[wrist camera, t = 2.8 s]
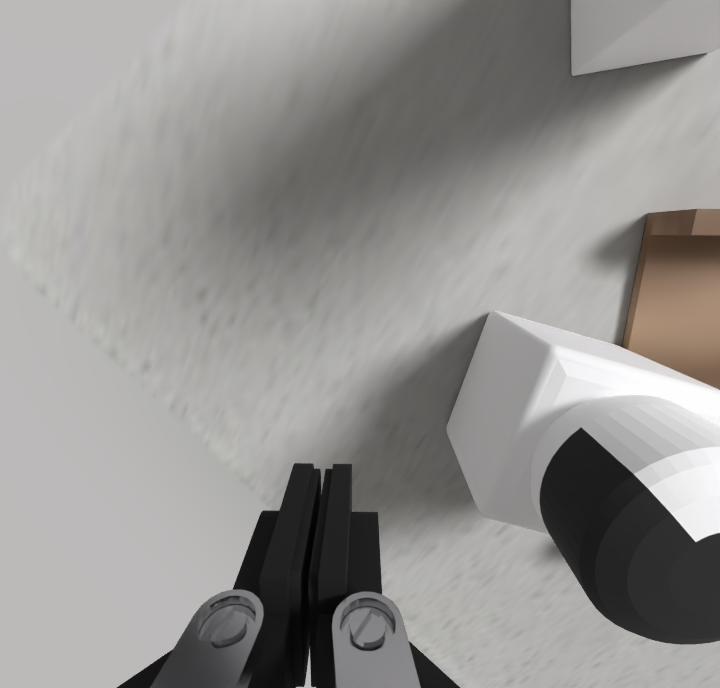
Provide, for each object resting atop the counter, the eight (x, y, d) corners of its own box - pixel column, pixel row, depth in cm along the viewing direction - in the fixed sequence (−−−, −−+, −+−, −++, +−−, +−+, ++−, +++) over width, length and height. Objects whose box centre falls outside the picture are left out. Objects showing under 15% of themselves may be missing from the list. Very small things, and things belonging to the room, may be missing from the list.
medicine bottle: (563, 462, 22) (776, 708, 11) (442, 430, 22) (527, 649, 10) (619, 345, 20) (950, 487, 9) (488, 307, 20) (654, 404, 8)
